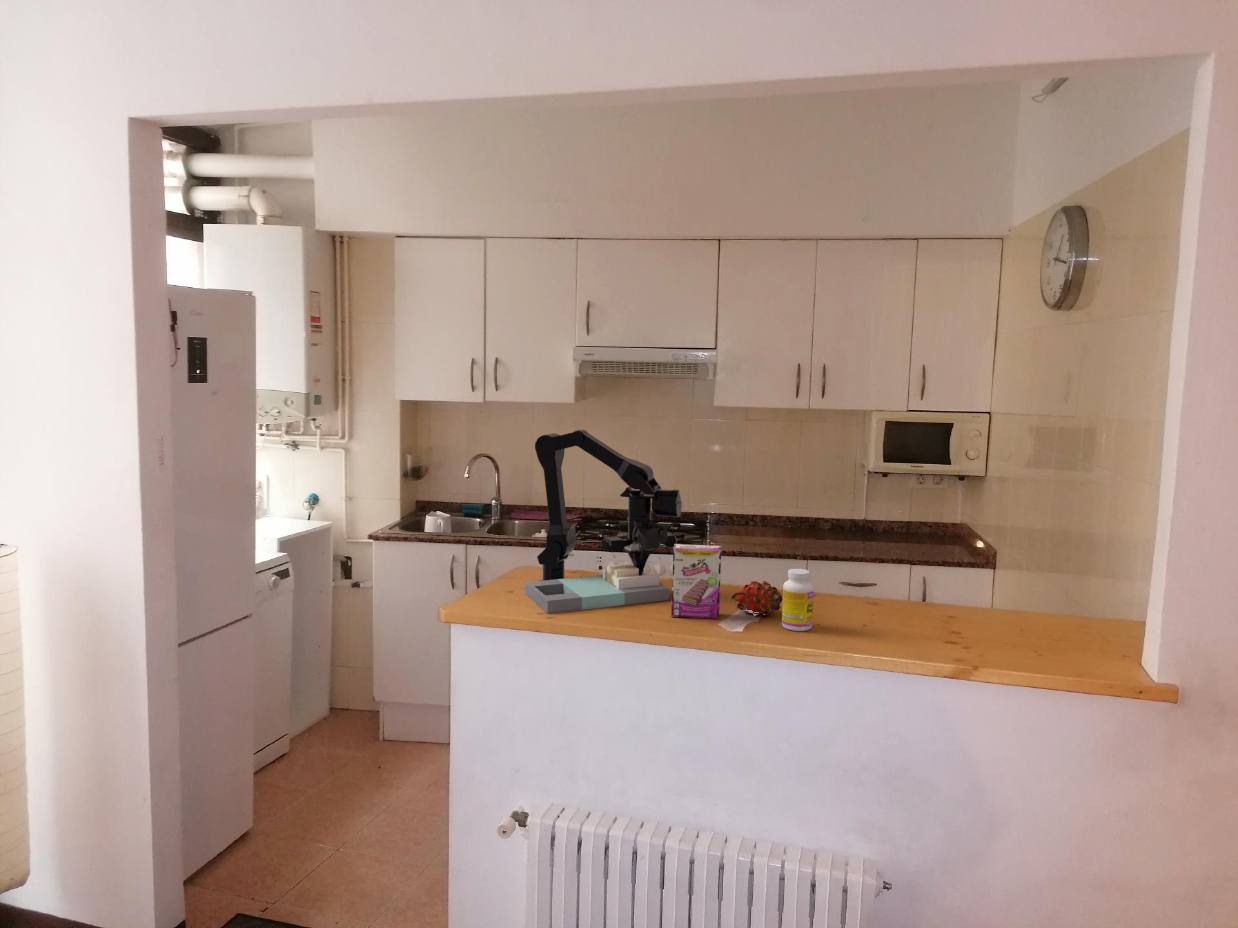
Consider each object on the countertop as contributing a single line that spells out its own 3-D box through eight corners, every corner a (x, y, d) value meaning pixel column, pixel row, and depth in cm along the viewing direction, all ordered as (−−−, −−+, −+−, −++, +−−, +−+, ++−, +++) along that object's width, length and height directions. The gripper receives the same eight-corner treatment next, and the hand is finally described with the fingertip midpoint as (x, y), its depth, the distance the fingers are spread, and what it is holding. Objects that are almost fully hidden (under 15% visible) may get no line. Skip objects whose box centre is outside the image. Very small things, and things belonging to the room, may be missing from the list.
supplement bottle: (809, 633, 189) (811, 575, 188) (779, 629, 191) (781, 573, 190) (814, 624, 195) (816, 569, 194) (784, 621, 198) (786, 566, 196)
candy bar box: (671, 617, 200) (672, 548, 198) (671, 611, 205) (673, 543, 203) (720, 619, 199) (721, 549, 197) (719, 613, 203) (721, 544, 201)
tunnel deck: (525, 593, 219) (525, 572, 218) (639, 582, 231) (639, 562, 230) (547, 613, 202) (547, 590, 202) (669, 599, 214) (669, 578, 214)
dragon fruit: (785, 624, 201) (734, 626, 204) (786, 595, 207) (736, 598, 211) (780, 600, 196) (727, 603, 199) (780, 572, 202) (729, 575, 205)
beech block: (607, 580, 220) (607, 565, 220) (628, 578, 223) (629, 563, 222) (616, 586, 215) (616, 570, 214) (638, 584, 217) (638, 568, 217)
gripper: (618, 523, 208) (617, 586, 210) (687, 517, 215) (686, 579, 217) (600, 515, 218) (600, 575, 220) (667, 510, 225) (666, 569, 227)
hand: (639, 575), depth 220 cm, fingers closed
